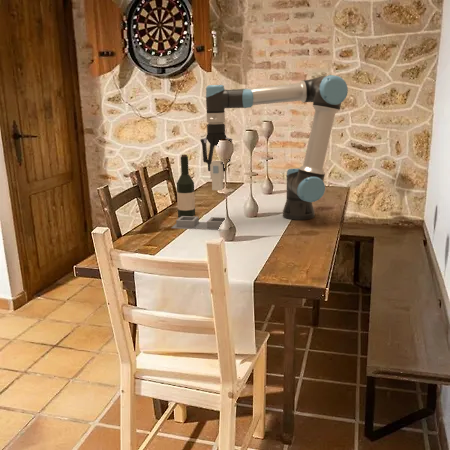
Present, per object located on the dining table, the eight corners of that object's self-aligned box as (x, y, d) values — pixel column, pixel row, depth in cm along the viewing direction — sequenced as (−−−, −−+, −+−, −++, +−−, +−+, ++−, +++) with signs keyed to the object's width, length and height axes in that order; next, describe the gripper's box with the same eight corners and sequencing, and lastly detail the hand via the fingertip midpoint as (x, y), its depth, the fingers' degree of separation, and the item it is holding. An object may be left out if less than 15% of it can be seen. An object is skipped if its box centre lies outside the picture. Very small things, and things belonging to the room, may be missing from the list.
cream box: (223, 188, 215) (222, 161, 212) (220, 190, 211) (219, 162, 208) (214, 188, 216) (213, 160, 213) (211, 190, 212) (210, 162, 208)
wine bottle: (198, 216, 240) (196, 154, 232) (186, 220, 234) (183, 156, 226) (187, 214, 245) (184, 153, 238) (174, 217, 240) (171, 155, 232)
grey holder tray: (234, 225, 223) (234, 216, 222) (228, 232, 212) (228, 223, 211) (179, 223, 228) (178, 214, 227) (170, 230, 217) (170, 221, 216)
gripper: (193, 124, 205) (195, 180, 211) (234, 123, 201) (235, 180, 207) (198, 122, 212) (200, 177, 218) (237, 122, 208) (238, 177, 214)
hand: (217, 178), depth 213 cm, fingers closed on cream box, 4 cm apart
